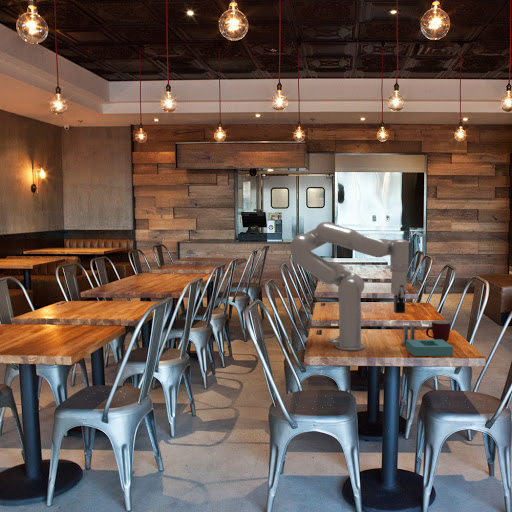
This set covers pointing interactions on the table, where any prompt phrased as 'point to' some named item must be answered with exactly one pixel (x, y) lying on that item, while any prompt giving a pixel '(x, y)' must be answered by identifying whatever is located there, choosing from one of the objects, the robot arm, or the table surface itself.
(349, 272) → the robot arm
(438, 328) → the mug
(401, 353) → the table surface
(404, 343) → the cable clip
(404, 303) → the plug
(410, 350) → the block
